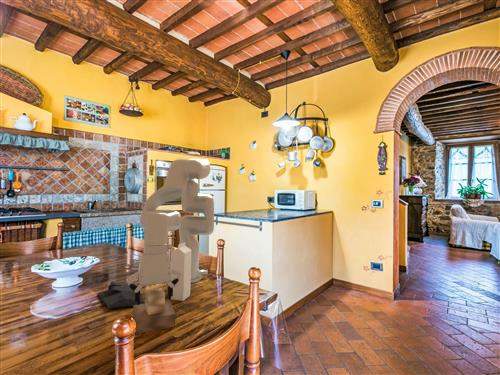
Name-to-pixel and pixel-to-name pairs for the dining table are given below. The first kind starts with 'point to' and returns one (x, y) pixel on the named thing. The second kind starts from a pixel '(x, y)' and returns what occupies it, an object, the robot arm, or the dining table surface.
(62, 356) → the dining table surface
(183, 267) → the milk
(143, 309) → the walnut base
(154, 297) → the beech block
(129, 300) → the dark slate chunk
